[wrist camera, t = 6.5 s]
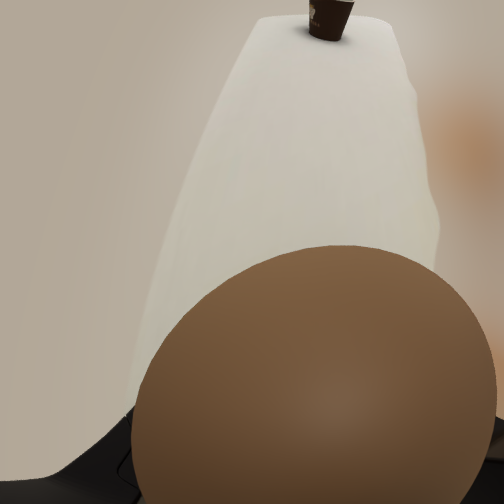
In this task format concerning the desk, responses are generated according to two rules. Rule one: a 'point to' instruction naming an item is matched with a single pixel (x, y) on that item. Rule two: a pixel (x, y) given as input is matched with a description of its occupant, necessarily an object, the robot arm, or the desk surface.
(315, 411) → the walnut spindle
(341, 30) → the coffee mug
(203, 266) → the desk surface
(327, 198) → the desk surface
